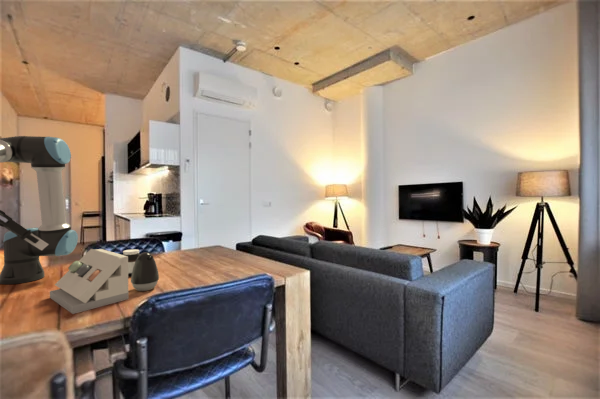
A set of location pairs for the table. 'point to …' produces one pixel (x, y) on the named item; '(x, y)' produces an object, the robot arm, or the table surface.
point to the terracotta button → (94, 275)
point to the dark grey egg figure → (144, 273)
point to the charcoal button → (83, 270)
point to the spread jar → (131, 259)
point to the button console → (94, 282)
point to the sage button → (75, 266)
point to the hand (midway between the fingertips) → (44, 247)
